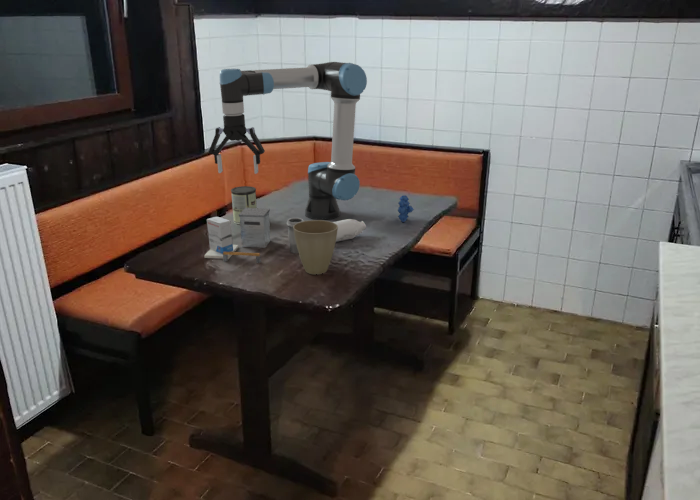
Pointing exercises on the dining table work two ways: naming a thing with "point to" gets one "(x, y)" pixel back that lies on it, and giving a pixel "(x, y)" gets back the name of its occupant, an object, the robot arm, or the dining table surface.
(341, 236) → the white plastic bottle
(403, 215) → the grapes
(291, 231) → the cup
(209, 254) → the tile
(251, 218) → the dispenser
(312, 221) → the plant pot
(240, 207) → the coffee can
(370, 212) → the dining table surface
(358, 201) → the dining table surface
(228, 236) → the ink box
